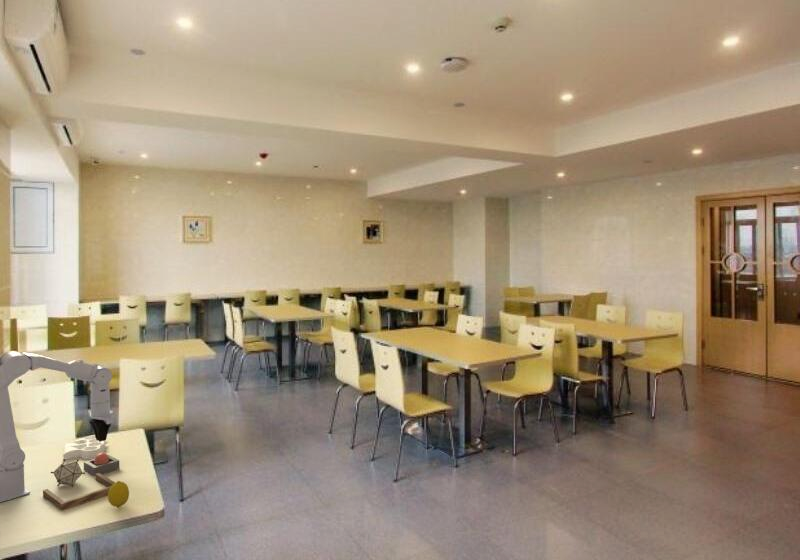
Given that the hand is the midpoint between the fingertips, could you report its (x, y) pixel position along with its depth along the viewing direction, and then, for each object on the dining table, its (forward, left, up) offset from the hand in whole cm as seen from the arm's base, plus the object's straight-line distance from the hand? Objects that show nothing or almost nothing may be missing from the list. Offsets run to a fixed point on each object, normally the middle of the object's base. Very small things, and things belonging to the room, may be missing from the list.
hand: (101, 440), depth 184 cm
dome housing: (0, 0, -10) cm, 10 cm away
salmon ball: (0, 0, -9) cm, 9 cm away
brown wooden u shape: (-12, -14, -10) cm, 21 cm away
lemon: (-9, -32, -11) cm, 35 cm away
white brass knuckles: (+4, +22, -11) cm, 25 cm away
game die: (-12, -4, -11) cm, 17 cm away
